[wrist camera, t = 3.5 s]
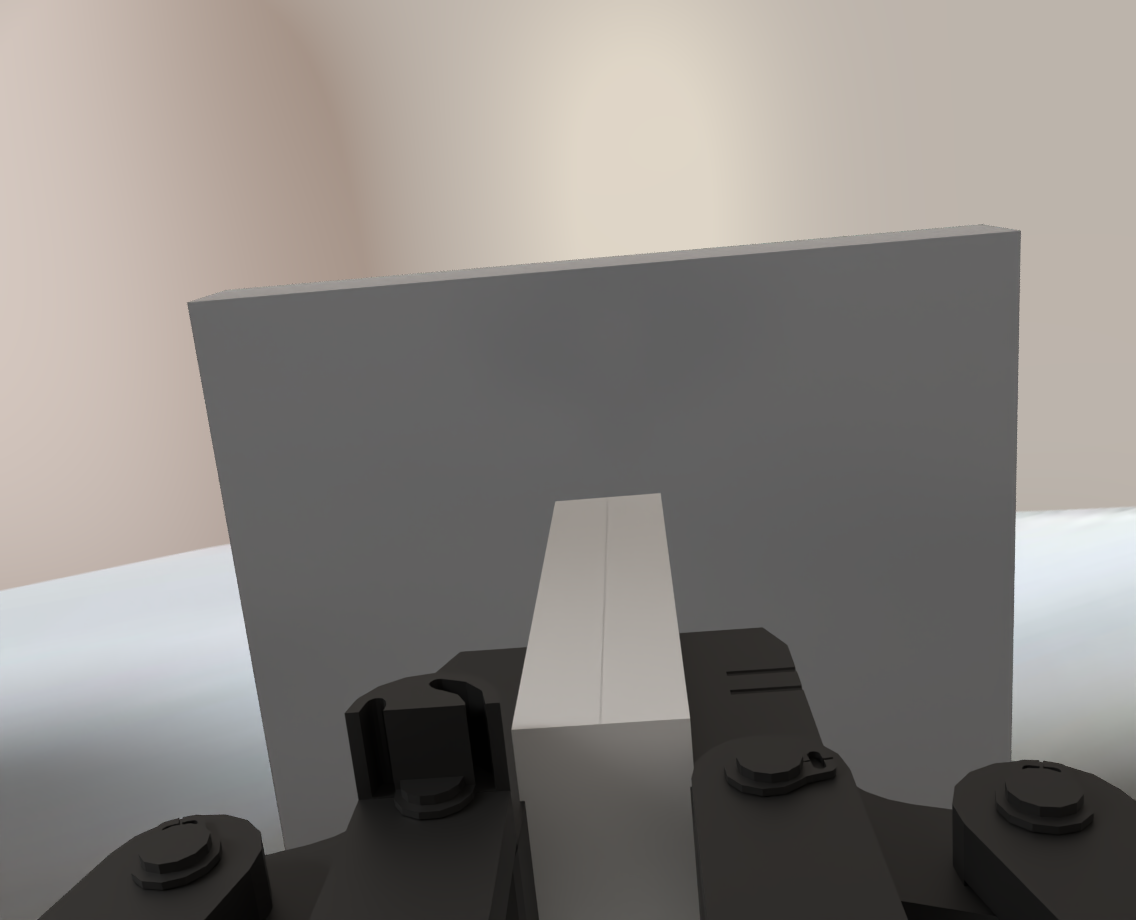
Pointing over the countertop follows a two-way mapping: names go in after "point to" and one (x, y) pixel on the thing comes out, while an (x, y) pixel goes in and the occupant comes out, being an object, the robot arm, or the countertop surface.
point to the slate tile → (634, 478)
